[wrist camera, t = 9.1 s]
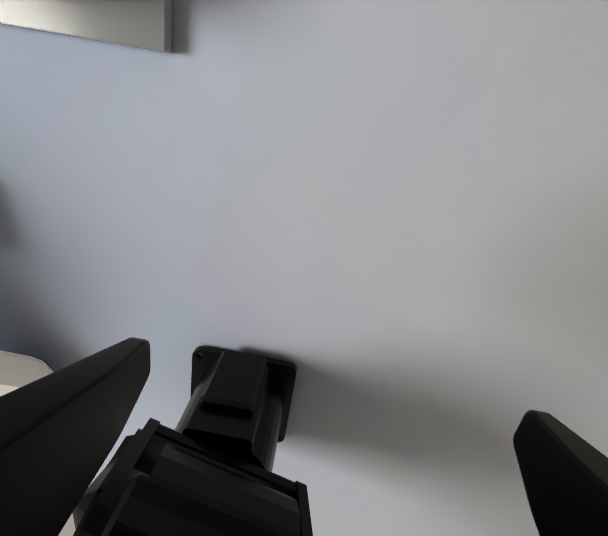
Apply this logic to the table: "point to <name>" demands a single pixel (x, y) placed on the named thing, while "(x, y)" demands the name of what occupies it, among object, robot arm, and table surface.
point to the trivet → (97, 20)
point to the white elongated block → (19, 371)
